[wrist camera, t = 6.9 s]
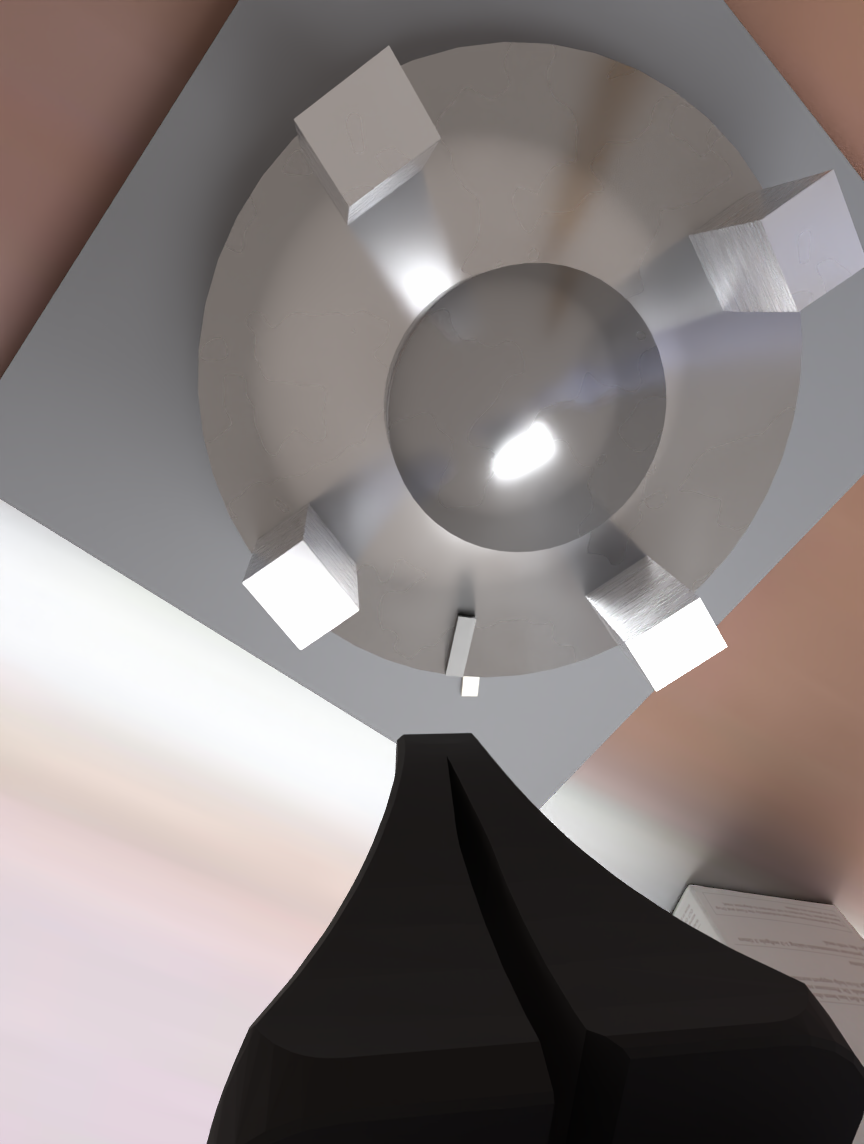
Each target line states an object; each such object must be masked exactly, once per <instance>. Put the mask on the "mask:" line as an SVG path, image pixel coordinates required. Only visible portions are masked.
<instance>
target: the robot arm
mask: <svg viewBox="0 0 864 1144" xmlns="http://www.w3.org/2000/svg"><path fill="white" fill-rule="evenodd" d="M863 1114H864V1067H863V1065H862V1064H861V1062H860V1061H859V1059H858V1058H857V1056H856V1055H855V1054H854V1052H853V1051H852V1049H851V1048H850V1046H849V1044H848V1043H847V1041H846V1040H845V1038H844V1037H843V1035H842V1034H841V1032H840V1031H839V1029H838V1028H837V1026H836V1025H835V1023H834V1022H833V1020H832V1019H831V1017H830V1016H829V1014H828V1013H827V1012H826V1010H825V1009H824V1008H823V1006H822V1005H821V1004H820V1003H819V1001H818V1000H817V999H816V997H815V996H814V995H813V993H812V992H811V991H810V990H809V988H808V987H807V986H806V984H805V983H803V982H801V981H799V980H797V979H795V978H792V977H790V976H788V975H786V974H784V973H782V972H780V971H778V970H776V969H773V968H771V967H769V966H767V965H765V964H763V963H761V962H759V961H757V960H754V959H752V958H750V957H748V956H746V955H744V954H742V953H740V952H738V951H736V950H734V949H732V948H730V947H728V946H726V945H724V944H722V943H721V942H719V941H717V940H715V939H713V938H712V937H710V936H708V935H706V934H704V933H703V932H701V931H699V930H697V929H695V928H694V927H692V926H690V925H688V924H687V923H685V922H683V921H682V920H680V919H678V918H677V917H675V916H673V915H672V914H670V913H669V912H667V911H665V910H664V909H662V908H661V907H659V906H658V905H656V904H655V903H653V902H652V901H650V900H649V899H647V898H646V897H644V896H643V895H641V894H640V893H638V892H637V891H635V890H634V889H632V888H631V887H629V886H628V885H627V884H625V883H624V882H622V881H621V880H620V879H618V878H617V877H615V876H614V875H613V874H611V873H610V872H609V871H608V870H606V869H605V868H604V867H603V866H601V865H600V864H599V863H598V862H596V861H595V860H594V859H593V858H591V857H590V856H589V855H587V854H586V853H585V852H584V851H582V850H581V849H580V848H579V847H578V846H577V845H575V844H574V843H573V842H572V841H571V840H570V839H569V838H567V837H566V836H565V835H564V834H563V833H562V832H561V831H560V830H559V829H558V828H557V827H556V826H555V825H554V824H553V823H552V822H551V821H550V820H549V819H548V818H547V817H546V816H545V815H544V814H543V813H542V812H541V811H540V810H539V809H538V808H537V807H536V806H535V805H534V804H533V803H532V802H531V801H530V800H529V799H528V798H527V797H526V795H525V794H524V793H523V792H522V791H521V790H520V789H519V788H518V787H517V786H516V785H515V784H514V782H513V781H512V780H511V779H510V778H509V777H508V776H507V774H506V773H505V772H504V771H503V770H502V768H501V767H500V766H499V765H498V764H497V763H496V761H495V760H494V759H493V758H492V757H491V755H490V754H489V753H488V752H487V750H486V749H485V748H484V747H483V745H482V744H481V743H480V742H479V741H478V739H477V738H476V737H475V736H474V735H473V734H472V733H442V734H403V735H402V736H401V737H400V738H399V739H398V740H397V747H396V770H395V778H394V782H393V786H392V789H391V793H390V796H389V800H388V803H387V807H386V810H385V813H384V816H383V818H382V821H381V823H380V826H379V829H378V831H377V834H376V836H375V839H374V841H373V844H372V846H371V849H370V851H369V853H368V855H367V857H366V860H365V862H364V864H363V866H362V868H361V870H360V872H359V874H358V876H357V878H356V880H355V882H354V884H353V885H352V887H351V889H350V891H349V893H348V894H347V896H346V898H345V899H344V901H343V903H342V905H341V906H340V908H339V910H338V912H337V913H336V915H335V917H334V918H333V920H332V921H331V923H330V925H329V926H328V928H327V929H326V931H325V932H324V934H323V935H322V937H321V938H320V939H319V941H318V942H317V944H316V945H315V946H314V948H313V949H312V951H311V952H310V953H309V955H308V956H307V958H306V959H305V960H304V962H303V963H302V965H301V966H300V967H299V969H298V970H297V971H296V973H295V974H294V975H293V977H292V978H291V979H290V980H289V982H288V983H287V984H286V985H285V986H284V988H283V989H282V990H281V991H280V992H279V993H278V995H277V996H276V997H275V998H274V999H273V1001H272V1002H271V1003H270V1004H269V1005H268V1006H267V1008H266V1009H265V1010H264V1011H263V1012H262V1013H261V1015H260V1016H259V1017H258V1018H257V1019H256V1020H255V1022H254V1023H253V1024H252V1025H251V1026H250V1028H249V1030H248V1032H247V1034H246V1037H245V1039H244V1041H243V1043H242V1046H241V1048H240V1050H239V1053H238V1055H237V1057H236V1060H235V1062H234V1064H233V1067H232V1069H231V1072H230V1074H229V1077H228V1079H227V1082H226V1084H225V1087H224V1089H223V1092H222V1095H221V1098H220V1101H219V1104H218V1106H217V1109H216V1112H215V1116H214V1119H213V1122H212V1126H211V1129H210V1133H209V1137H208V1141H207V1144H852V1143H853V1140H854V1138H855V1135H856V1133H857V1130H858V1128H859V1125H860V1123H861V1120H862V1118H863Z"/></svg>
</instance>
